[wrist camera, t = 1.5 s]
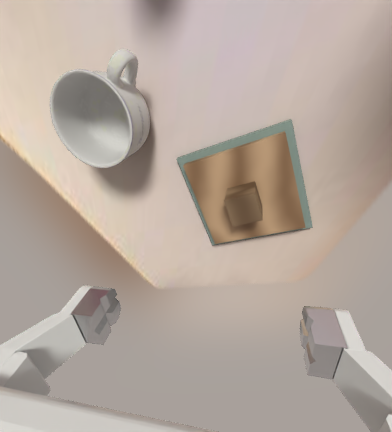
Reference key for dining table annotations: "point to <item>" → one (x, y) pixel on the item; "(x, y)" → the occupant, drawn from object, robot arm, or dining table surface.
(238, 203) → the cover
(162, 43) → the dining table surface
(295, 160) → the mat
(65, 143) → the teacup
